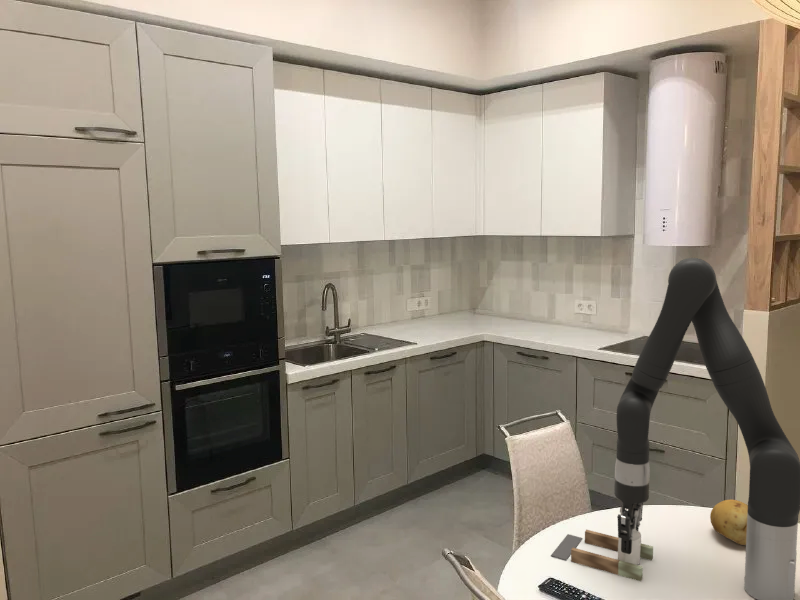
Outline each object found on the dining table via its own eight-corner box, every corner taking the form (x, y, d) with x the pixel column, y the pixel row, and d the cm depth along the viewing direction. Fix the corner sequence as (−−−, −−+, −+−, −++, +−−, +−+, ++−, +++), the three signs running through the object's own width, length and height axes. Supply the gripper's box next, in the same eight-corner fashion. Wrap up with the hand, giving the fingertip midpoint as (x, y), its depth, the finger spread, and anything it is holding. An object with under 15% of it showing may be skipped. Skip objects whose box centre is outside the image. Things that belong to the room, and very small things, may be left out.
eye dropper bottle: (643, 569, 145) (646, 521, 143) (619, 569, 145) (622, 521, 144) (637, 558, 150) (639, 511, 148) (613, 558, 150) (615, 511, 148)
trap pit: (582, 539, 160) (582, 537, 160) (566, 560, 150) (566, 559, 150) (567, 535, 162) (567, 534, 162) (550, 556, 152) (550, 555, 152)
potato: (734, 525, 164) (735, 489, 163) (770, 550, 152) (772, 510, 151) (699, 530, 162) (700, 493, 161) (732, 555, 150) (734, 515, 149)
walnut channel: (652, 558, 150) (653, 546, 149) (641, 581, 140) (641, 569, 140) (586, 540, 159) (586, 529, 158) (571, 561, 149) (571, 549, 149)
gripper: (641, 493, 137) (638, 566, 139) (656, 470, 148) (653, 538, 151) (606, 485, 141) (604, 556, 143) (623, 464, 152) (621, 529, 155)
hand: (629, 546), depth 147 cm, fingers closed on eye dropper bottle, 5 cm apart
